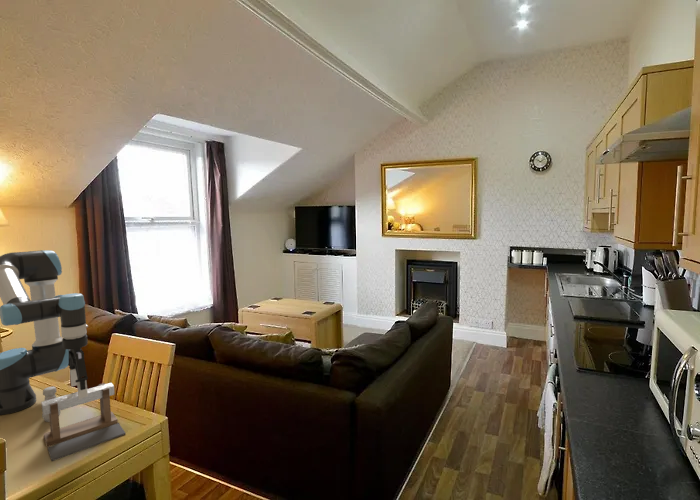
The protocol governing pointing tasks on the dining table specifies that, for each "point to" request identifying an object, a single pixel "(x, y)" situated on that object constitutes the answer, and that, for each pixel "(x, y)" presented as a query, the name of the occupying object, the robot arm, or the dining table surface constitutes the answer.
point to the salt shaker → (47, 393)
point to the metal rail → (76, 398)
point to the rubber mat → (85, 441)
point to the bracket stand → (81, 427)
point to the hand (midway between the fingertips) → (79, 391)
